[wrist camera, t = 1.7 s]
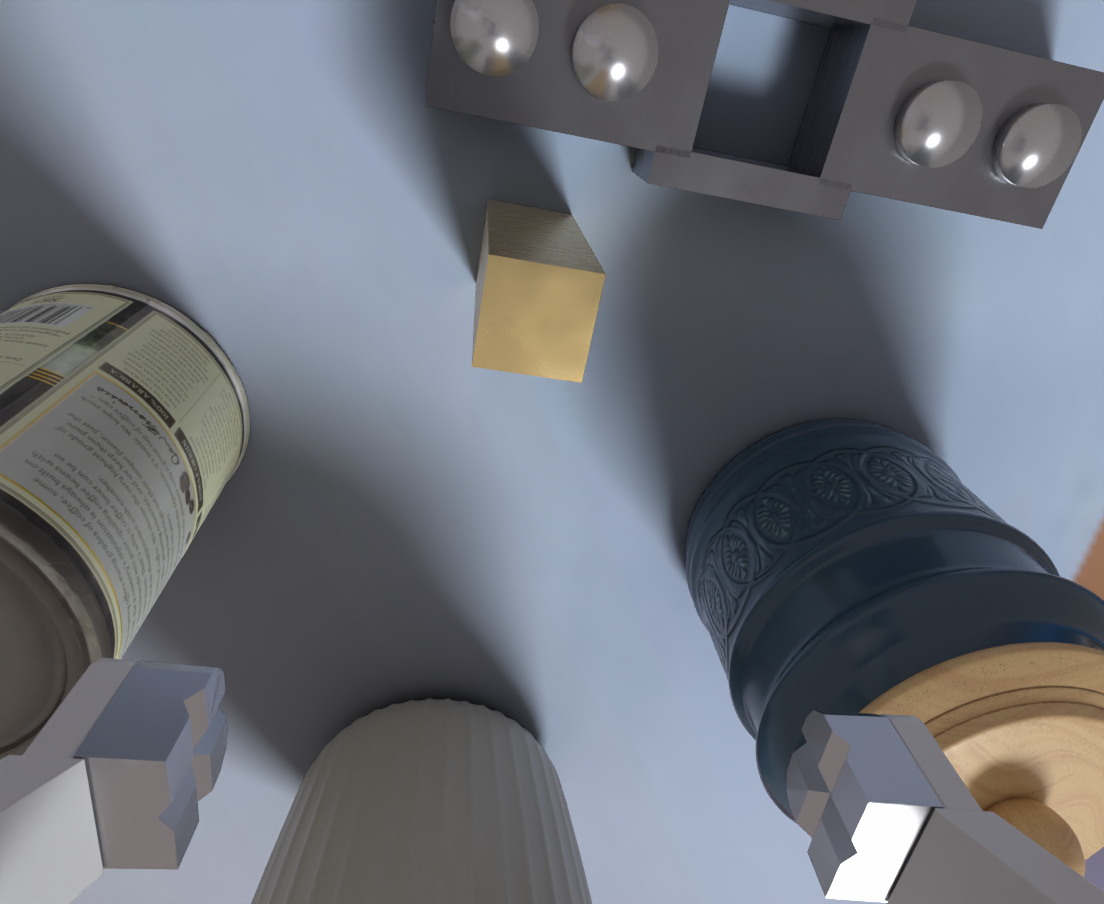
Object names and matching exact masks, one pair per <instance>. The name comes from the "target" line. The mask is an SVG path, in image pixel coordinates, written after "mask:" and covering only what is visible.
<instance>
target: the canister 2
mask: <svg viewBox="0 0 1104 904" xmlns="http://www.w3.org/2000/svg"><path fill="white" fill-rule="evenodd" d="M685 555H686V574H687V582H688V587H689V591H690V594H691V597H692V600H693V602H694V606H695V608H696V611H697V613H698V615H699V617H700V619H701V621H702V623H703V624H704V626H705V627H706V629H707V630H708V631H709V633H710V636H711V638H712V641H713V643H714V646H715V648H716V651H717V653H718V656H719V659H720V661H721V664H722V666H723V669H724V671H725V674H726V677H727V679H728V682H729V689H730V695H731V699H732V703H733V706H734V708H735V711H736V713H737V715H738V717H739V719H740V721H741V723H742V724H743V726H744V727H745V729H746V730H747V731H748V733H749V734H750V735H751V736H752V737H753V738H754V739H755V740H756V761H757V767H758V771H759V775H760V778H761V781H762V783H763V786H764V788H765V790H766V792H767V793H768V795H769V797H770V798H771V799H772V801H773V802H774V803H775V805H776V806H777V807H778V808H779V809H780V810H781V811H782V812H783V813H784V814H785V815H786V816H787V817H788V818H790V819H791V820H792V821H794V822H795V819H794V816H793V814H792V811H791V808H790V805H789V800H788V795H787V769H788V766H789V763H790V760H791V757H792V754H793V753H794V752H795V751H796V750H798V749H799V748H800V747H801V746H803V745H804V744H805V743H807V742H806V739H805V737H804V735H803V733H802V727H803V725H804V722H805V720H806V717H807V716H808V715H809V714H810V713H811V712H812V711H813V710H821V711H837V712H853V713H869V714H878V715H880V714H892V715H910V716H915V717H917V718H918V719H920V720H921V721H922V722H923V723H924V724H925V725H926V727H927V728H928V730H929V731H930V733H931V734H932V736H933V737H934V739H935V740H936V742H937V743H938V745H939V746H940V748H941V749H942V751H943V752H944V754H945V755H946V757H947V758H948V760H949V761H950V763H951V764H952V766H953V767H954V769H955V770H956V772H957V773H958V775H959V776H960V778H961V779H962V781H963V782H964V784H965V785H966V787H967V788H968V790H969V791H970V793H971V794H972V796H973V797H974V799H975V800H976V802H977V803H978V805H979V806H980V808H981V809H982V811H988V812H994V813H996V814H997V815H998V816H1000V817H1001V818H1003V819H1004V820H1005V821H1007V822H1008V823H1009V824H1011V825H1012V826H1014V827H1015V828H1016V829H1018V830H1019V831H1020V832H1022V833H1023V834H1025V835H1026V836H1027V837H1029V838H1030V839H1031V840H1033V841H1034V842H1036V843H1037V844H1038V845H1040V846H1041V847H1043V848H1044V849H1045V850H1047V851H1048V852H1049V853H1051V854H1052V855H1054V856H1055V857H1056V858H1058V859H1059V860H1060V861H1062V862H1063V863H1065V864H1066V865H1067V866H1069V867H1070V868H1072V869H1073V870H1074V871H1076V872H1077V873H1078V874H1080V875H1081V876H1083V877H1084V873H1085V860H1086V859H1087V858H1089V857H1090V856H1092V855H1093V854H1094V853H1096V852H1097V851H1098V850H1100V849H1101V848H1102V847H1103V846H1104V600H1102V599H1101V598H1100V597H1099V596H1097V595H1096V594H1095V593H1093V592H1092V591H1090V590H1088V589H1087V588H1085V587H1083V586H1082V585H1080V584H1077V583H1075V582H1073V581H1071V580H1068V579H1066V578H1063V577H1060V576H1059V573H1058V571H1057V569H1056V567H1055V565H1054V564H1053V562H1052V561H1051V559H1050V558H1049V556H1048V555H1047V554H1046V553H1045V551H1044V550H1043V549H1042V548H1041V547H1040V546H1039V545H1038V544H1037V543H1036V542H1035V541H1034V540H1032V539H1031V538H1030V537H1029V536H1027V535H1026V534H1025V533H1023V532H1021V531H1020V530H1018V529H1017V528H1015V527H1013V526H1011V525H1009V524H1007V523H1006V522H1005V521H1004V520H1003V519H1002V518H1001V517H999V516H998V515H997V514H996V513H995V512H994V511H993V510H992V509H990V508H989V507H988V506H987V505H986V504H985V503H984V502H983V501H981V500H980V499H979V498H978V497H977V496H976V495H975V494H974V493H972V492H971V491H970V490H969V489H968V488H967V487H966V486H964V485H963V484H962V482H961V481H960V479H959V478H958V476H957V475H956V474H955V472H954V471H953V470H952V469H951V468H950V467H949V466H948V465H947V464H946V463H945V462H944V461H943V460H942V459H941V458H939V457H938V456H937V455H936V454H935V453H934V452H932V451H931V450H930V449H929V448H927V447H926V446H925V445H923V444H921V443H920V442H918V441H916V440H914V439H913V438H911V437H909V436H906V435H904V434H901V433H899V432H896V431H894V430H892V429H890V428H888V427H885V426H883V425H879V424H876V423H873V422H868V421H863V420H855V419H827V420H818V421H812V422H808V423H803V424H799V425H796V426H793V427H790V428H787V429H784V430H782V431H779V432H777V433H774V434H772V435H770V436H768V437H766V438H764V439H762V440H760V441H759V442H757V443H755V444H754V445H752V446H750V447H749V448H747V449H746V450H745V451H743V452H742V453H740V454H739V455H738V456H737V457H735V458H734V459H733V460H732V461H731V462H730V463H729V464H727V465H726V466H725V467H724V468H723V469H722V470H721V471H720V472H719V474H718V475H717V476H716V477H715V478H714V479H713V481H712V482H711V483H710V484H709V486H708V487H707V489H706V490H705V491H704V493H703V495H702V496H701V498H700V500H699V501H698V503H697V506H696V508H695V510H694V512H693V515H692V517H691V520H690V523H689V527H688V531H687V536H686V546H685ZM795 823H796V822H795ZM796 824H797V823H796ZM811 839H812V837H811Z"/></svg>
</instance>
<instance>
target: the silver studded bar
mask: <svg viewBox="0 0 1104 904" xmlns="http://www.w3.org/2000/svg"><path fill="white" fill-rule="evenodd" d="M916 3H917V0H436V7H435V17H434V27H433V37H432V46H431V56H430V66H429V76H428V86H427V96H426V106H430V107H435V108H440V109H445V110H450V111H455V112H460V113H465V114H470V115H475V116H480V117H485V118H490V119H495V120H500V121H505V122H510V123H515V124H520V125H525V126H530V127H535V128H540V129H545V130H550V131H555V132H560V133H565V134H570V135H575V136H580V137H585V138H590V139H595V140H600V141H605V142H610V143H615V144H620V145H625V146H630V147H635V148H637V152H636V156H635V161H634V165H633V170H632V172H634V173H635V174H636V175H638V176H639V177H640V178H642V179H643V180H644V181H646V182H647V183H650V184H655V185H660V186H666V187H671V188H676V189H681V190H686V191H692V192H697V193H702V194H707V195H712V196H717V197H723V198H728V199H733V200H738V201H743V202H749V203H754V204H759V205H764V206H769V207H775V208H780V209H785V210H790V211H795V212H801V213H806V214H811V215H816V216H821V217H827V218H832V219H837V220H840V218H841V216H842V213H843V210H844V207H845V204H846V201H847V199H848V196H849V193H850V191H855V192H860V193H865V194H870V195H875V196H880V197H885V198H890V199H895V200H900V201H905V202H910V203H915V204H920V205H925V206H930V207H935V208H940V209H945V210H950V211H955V212H960V213H965V214H970V215H975V216H980V217H985V218H990V219H995V220H1000V221H1005V222H1010V223H1016V224H1021V225H1026V226H1031V227H1036V228H1041V229H1042V228H1043V226H1044V224H1045V222H1046V220H1047V217H1048V215H1049V213H1050V211H1051V209H1052V207H1053V205H1054V203H1055V201H1056V198H1057V196H1058V194H1059V192H1060V190H1061V188H1062V186H1063V184H1064V182H1065V179H1066V177H1067V175H1068V173H1069V171H1070V169H1071V167H1072V165H1073V163H1074V160H1075V158H1076V156H1077V154H1078V152H1079V150H1080V148H1081V146H1082V144H1083V141H1084V139H1085V137H1086V135H1087V133H1088V131H1089V129H1090V127H1091V125H1092V122H1093V120H1094V118H1095V116H1096V114H1097V112H1098V110H1099V108H1100V106H1101V103H1102V101H1103V99H1104V73H1103V72H1099V71H1095V70H1091V69H1087V68H1083V67H1078V66H1074V65H1070V64H1066V63H1062V62H1058V61H1053V60H1049V59H1045V58H1041V57H1037V56H1033V55H1028V54H1024V53H1020V52H1016V51H1012V50H1008V49H1003V48H999V47H995V46H991V45H987V44H983V43H978V42H974V41H970V40H966V39H962V38H958V37H953V36H949V35H945V34H941V33H937V32H933V31H928V30H924V29H920V28H916V27H912V26H908V25H909V23H910V20H911V17H912V14H913V11H914V8H915V5H916ZM729 4H730V5H734V6H738V7H743V8H747V9H751V10H755V11H760V12H764V13H768V14H772V15H777V16H781V17H785V18H789V19H794V20H798V21H802V22H806V23H811V24H815V25H819V26H823V27H828V28H832V29H831V32H830V35H829V38H828V42H827V45H826V48H825V51H824V54H823V58H822V61H821V64H820V67H819V70H818V74H817V77H816V80H815V83H814V86H813V90H812V93H811V96H810V99H809V102H808V106H807V109H806V112H805V115H804V118H803V122H802V125H801V128H800V131H799V134H798V138H797V141H796V144H795V147H794V150H793V154H792V157H791V160H790V163H789V166H788V167H786V166H781V165H776V164H771V163H766V162H761V161H757V160H752V159H747V158H742V157H737V156H732V155H727V154H722V153H717V152H712V151H707V150H702V149H697V148H692V147H693V143H694V139H695V135H696V132H697V128H698V124H699V120H700V116H701V112H702V108H703V104H704V100H705V96H706V92H707V88H708V84H709V80H710V77H711V73H712V69H713V65H714V61H715V57H716V53H717V49H718V45H719V41H720V37H721V33H722V29H723V25H724V21H725V18H726V14H727V10H728V6H729Z"/></svg>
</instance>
